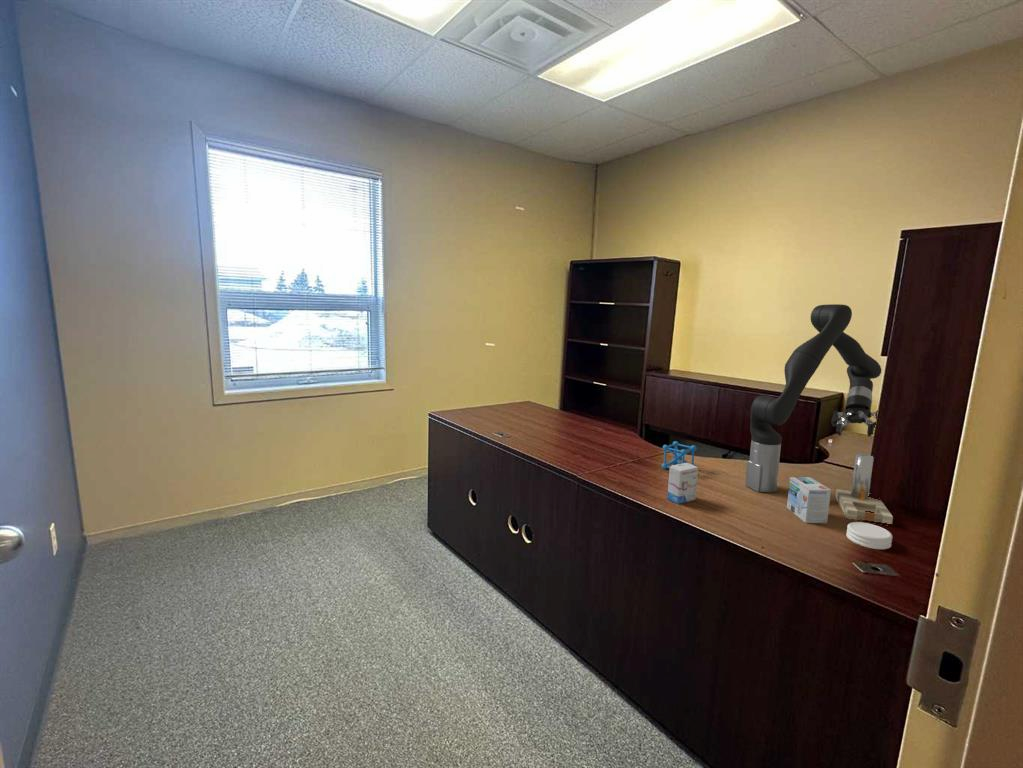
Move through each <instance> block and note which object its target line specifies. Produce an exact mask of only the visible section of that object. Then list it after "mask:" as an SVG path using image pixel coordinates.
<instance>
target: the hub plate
mask: <svg viewBox="0 0 1023 768" xmlns="http://www.w3.org/2000/svg"><path fill="white" fill-rule="evenodd" d="M835 490H836V491H835V499H836V502H837V503H838V505H839V507H840V508H842V509H841V511H842V510H843V511H842V513H843V512H844V513H843V515H844V516H845V518H846V517H847V518H851V519H852V518H853V519H862V520H868V521H874V522H881V523H887V524H892V525H893V520H894V516H893V515H892V513H891V512H890V510H889V509H888V508H887V506H886V505H885V503H884V502H883V501H882V500H881V499H880V500H878V499H874V498H871V497H868V499H864V501H861V500H859V499H857V498H854V497H852V496H851V490H846V489H840V488H836V489H835ZM865 511H871V512H874V513H870V512H865ZM847 518H846V519H847ZM851 519H850V520H851Z"/></svg>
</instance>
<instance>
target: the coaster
mask: <svg viewBox="0 0 1023 768" xmlns="http://www.w3.org/2000/svg"><path fill="white" fill-rule="evenodd" d="M846 527H847V529H846V534H845V535H846V537H847V539H848V540H849V541H850V542H852V543H854V544H856V545H858V544H859V545H858V546H862V547H864V548H868V549H873V550H887V549H888V550H889V549H890V548H891V547H892V542H893V534H892V533H891V532H890V531H889V530H887V529H885V528H884V527H881V526H879V525H877V524H876V525H875V524H874V523H870V522H863V521H856V522H855V521H854V522H850V523H848V524H847V526H846Z"/></svg>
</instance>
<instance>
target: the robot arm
mask: <svg viewBox="0 0 1023 768" xmlns="http://www.w3.org/2000/svg"><path fill="white" fill-rule="evenodd" d="M852 315H853V311H852V308H851V307H850V306H849V305H847V304H842V303H839V304H835V303H833V304H819V305H817V306H815V307H814V308H813V309H812V310H811V313H810V322H811V324H812V327H814V329H815V330H817V332H818V333H817V334H816V335H814V336H813V337H811V338H810V339H808V340H806V341H805V342H803V343H801V344H800V345H799V346H798V347H796V348H795V349H794V350H793V351H792V353H791V355H790V356H789V358H788V359H787V361H786V363H785V364H784V370H783V371H784V379H785V386H784V389H783V390H782V392H781V394H780V395H779V397H773V396H768V395H759V396H757V397H755V398H754V400H753V401H752V404H751V408H750V426H749V427H750V428H749V432H750V434H751V442H750V451H749V453H750V454H749V460H747V462H746V470H745V471H746V472H745V485H744V486H745V487H747V488H748V489H751V490H753V491H756V492H758V493H761V492H762V493H775V492H777V487H778V477H779V470H780V469H779V468H780V458H781V457H780V456H781V447H782V440H783V439H782V435H781V434H780V433H779V432H777V431H776V430H775V429H774V428H773V426H772V425H774V426H782V425H784V424H785V423H786V422H788V421H787V420H788V419H789V418H790V416H791V414H792V412H793V411H794V409H795V406H796V405H797V402H798V400H799V399H800V396H801V394H802V393H803V391H804V389H805V388H806V386H807V385H808V383H809V381H810V379H811V378H812V376H814V374H815V373H816V371H817V370H818V368H819V367H820V364H821V363H822V361H823V359H825V356H826V355H827V353H828V352H829V350H831V348H832V346H833V347H834V348H835V350H836V351H837V352H838V353H839V355H840V357H841V358H842V359H843V361H844V363H846V365H847V368H846V374H847V376H848V379H849V387H848V388H849V389H848V393H847V396H846V400H845V401H846V402H845V406H844V407H845V408H844V410H843V411H841V412H840V411H838V410H834V411H833V413H832V417H831V424H832V427H836V428H835V432H836V434H837V435H838V436H842V433H843V427H845V426H848V425H849V424H864V425H865V426H867V431H866V432H867V433H866V434H867V436H868V437H872V436H873V435H874V431H875V428H876V427H875V425H876V421H872V420H871V419H870V418H871V417H873V418H874V419H875V420H876V419H877V412H878V411H879V410H876V411H875V412H872V403H873V391H874V390H873V388H874V383H873V381H872V379H877V378H879V377H880V376H881V374H882V367H881V365H880V364H879V362H878V361H877V360H875V359H874V358H873V357H871V356H870V355H869V354H867V353H866V352H865V350H864V348H863V346H862V345H861V344H860V343H859V342H858V340H857V339H855V338H853V337H852V336H851V335H849V334H848V333H845V332H844V331H845V330H846V329H847V328H848V327H849V324H850V323H851V320H852Z"/></svg>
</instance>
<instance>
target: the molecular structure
mask: <svg viewBox="0 0 1023 768" xmlns="http://www.w3.org/2000/svg"><path fill="white" fill-rule="evenodd" d="M672 447H674V448H672ZM678 447H684V448H686V449H678ZM662 450H664V454H663V455H664V457H663V463H662V464H661V468H662V469H663V470H666V469H670V467H671V466H672V465H677V464H683V463H689V462H688V461H687V460H685V456H686V455H687V454H688V453H690V452H691V464H692V465H694V466H696V464H694V462H695V461H694V460H695V451H697V446H696V445H694V444H693V445H691V446H690V445H685V444H681V443H679V442H678V441H676V440H675V441H673V442H672V444H669V445H667V444H663V446H662ZM667 451H668V452H670V453H671V454H672V455H673V458H672V460H671V461H669V462H667ZM670 465H671V466H670Z"/></svg>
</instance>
